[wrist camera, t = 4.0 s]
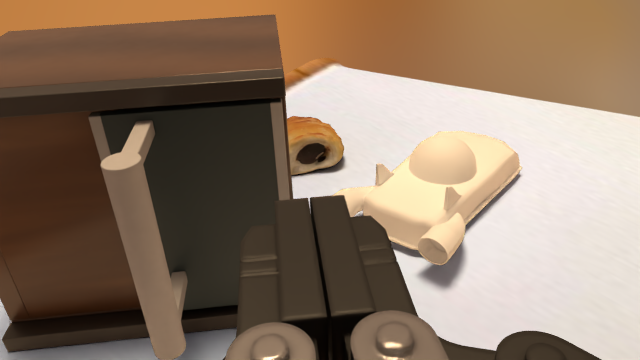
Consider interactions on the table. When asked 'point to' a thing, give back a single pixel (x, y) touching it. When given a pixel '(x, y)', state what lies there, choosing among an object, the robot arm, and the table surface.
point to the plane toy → (436, 191)
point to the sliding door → (190, 200)
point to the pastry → (312, 145)
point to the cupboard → (85, 165)
